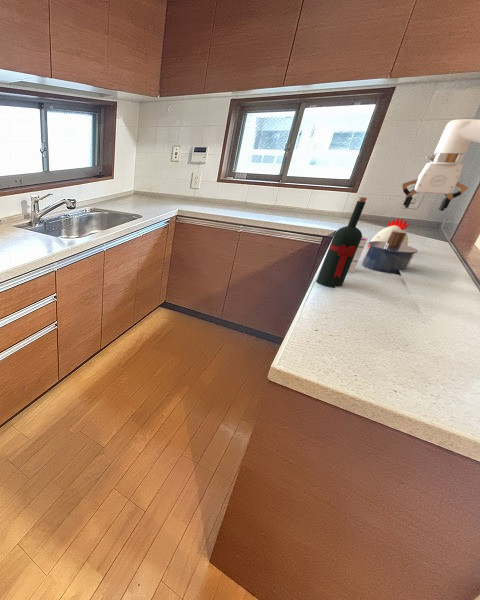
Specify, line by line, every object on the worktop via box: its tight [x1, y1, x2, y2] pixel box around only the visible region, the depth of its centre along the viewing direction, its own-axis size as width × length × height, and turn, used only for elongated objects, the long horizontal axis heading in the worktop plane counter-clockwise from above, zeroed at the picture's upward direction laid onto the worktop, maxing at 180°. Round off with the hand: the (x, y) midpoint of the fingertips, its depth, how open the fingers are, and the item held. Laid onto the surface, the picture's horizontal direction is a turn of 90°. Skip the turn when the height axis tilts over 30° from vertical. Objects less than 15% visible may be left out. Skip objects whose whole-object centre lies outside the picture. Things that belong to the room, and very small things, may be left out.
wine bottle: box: [315, 196, 367, 289], centre depth 109 cm, size 8×10×30 cm
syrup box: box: [348, 234, 369, 273], centre depth 126 cm, size 6×6×14 cm
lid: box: [368, 230, 418, 255], centre depth 128 cm, size 15×15×7 cm
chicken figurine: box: [367, 218, 410, 249], centre depth 152 cm, size 14×14×15 cm
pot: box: [361, 244, 416, 275], centre depth 131 cm, size 14×19×8 cm
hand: (423, 208), depth 121 cm, fingers open, 9 cm apart
